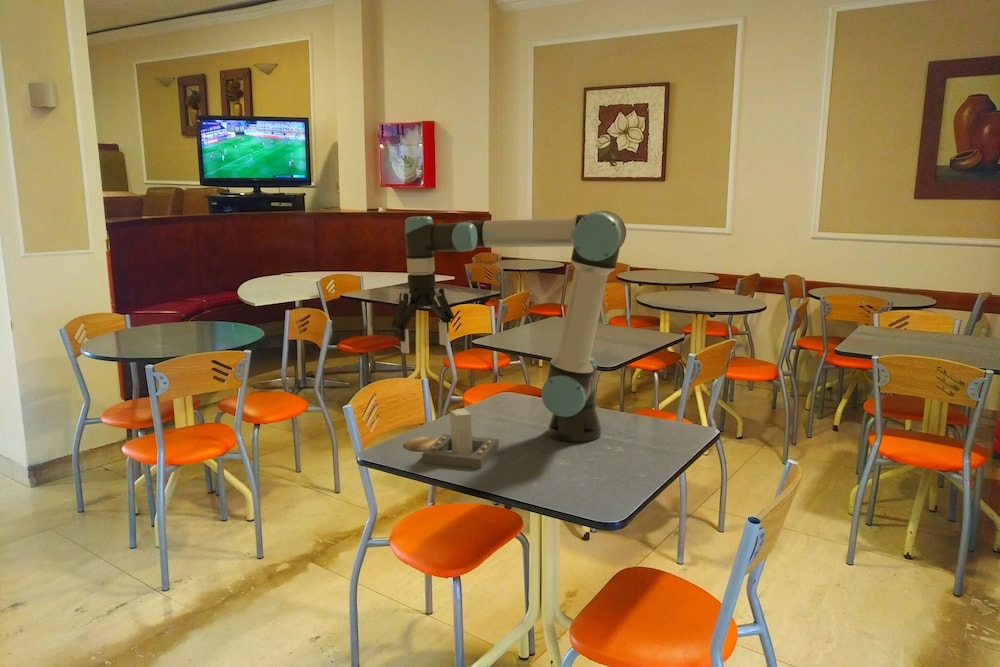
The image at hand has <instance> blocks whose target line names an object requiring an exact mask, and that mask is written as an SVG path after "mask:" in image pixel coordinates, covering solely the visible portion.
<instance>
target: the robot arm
mask: <svg viewBox="0 0 1000 667" xmlns="http://www.w3.org/2000/svg"><path fill="white" fill-rule="evenodd" d="M404 225H405V226H404V236H405V249H406V250H405V251H406V267H407V273H408V275H407V286H408V289H409V292H408V293H406V292H400V293H399V300H398V305H397V308H396V311H395V314H394V316H393V319H392V322H391V324H390V327H391V328H393V329H396V330H397V332H398V333H397V335H398V336H397V337H398V342H400V349H401V350H400V351H401V353H402V354H403V353H404V354H410V336H409V329H407V327H408V325H409V323H410V321H411V320H412V318H413V317H414V315H415V313H416V311H418V310H419V308H424V307H429V308H430V309H431V310H432V312H434V314H435V315H436V316H437V317H438V318H439V320H440V321H438V334H439V345H441V346H448V345H449V342H448V333H449V331H450V328H449V324H450V323H451V322H452V320H454V318H455V315H454V313H453V311H452V308H451V307H450V304H449V303H448V300H447V298H446V296H445V289H444V288H442V287H441V288H440V287H436V274H435V273H434V272H435V271H436V269H435V268H436V267H435V254H434V253H435V252H460V253H463V252H472V251H474V250H475V249H476V248H479V249H480V248H481V249H482V248H536V247H537V248H539V247H542V248H543V247H547V248H548V247H550V248H551V247H554V248H555V247H556V248H559V247H561V248H563V247H565V248H567V247H568V248H569V247H570V248H571V247H572V248H573V249H572V254H571V258H570V261H571V263H572V264H573V267H574V273H573V278H572V283H571V289H570V294H569V297H568V303H567V308H566V313H565V317H564V322H563V327H562V332H561V336H560V337H561V338H560V341H559V342H560V343H559V346H558V352H557V354H556V356H554V357H552V359H550V363H549V368H548V373H547V378H546V380H545V382H544V383H543V386H542V389H541V400H542V403H543V405H544V406H545V408H546V409H547V410H548V411H549V412H550V413H552V415H551V418H550V421H549V424H548V435H549V436H550V437H551V438H553V439H555V440H558V441H561V442H562V441H563V442H570V443H582V442H590V441H594V440H597V439H599V438H600V437H601V435H602V425H601V422H600V419H599V416H598V413H597V410H596V402H597V401H596V398H597V395H596V393H597V391H596V387H597V386H596V385H597V384H596V383H597V369H598V367H597V363H596V362H597V361H596V358H595V357H592V352H593V347H594V341H595V338H596V332H597V328H598V322H599V319H600V314H601V308H602V305H603V300H604V296H605V290H606V286H607V282H608V276H609V275H610V273H612V272H613V271H615V270H616V268H617V264H618V263H617V262H618V258H619V254H620V250H621V247H622V246H623V245H624V243H625V240H626V236H627V229H626V228H627V227H626V224H625V223H624V221H623V219H622V218H621V217H620V216H619V215H618V214H616V213H615V212H613V211H609V210H601V211H593V212H590V213H587V214H576V215H575V216H574V217H573V218H547V219H546V218H545V219H510V220H509V219H506V220H505V219H502V220H474V219H473V220H472V219H471V220H465V221H459V222H453V223H452V222H449V223H434V221H433V218H432V216H424V215H423V216H410V217H407V218H406V219H405V222H404ZM435 287H436V288H435ZM435 297H436V299H435Z"/></svg>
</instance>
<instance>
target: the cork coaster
mask: <svg viewBox="0 0 1000 667" xmlns="http://www.w3.org/2000/svg"><path fill="white" fill-rule="evenodd" d="M438 439H439V438H437V437H433V436H419V437H413V438H410V439H408V440H406V441H405V444H404V445H405V448H406V449H408V450H410V451H416V452H425V451H426V450H427V449H428V448H429V447H430V446H431V445H432V444H434V443H435V442H436V441H437V440H438Z"/></svg>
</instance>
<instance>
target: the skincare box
mask: <svg viewBox="0 0 1000 667" xmlns="http://www.w3.org/2000/svg"><path fill="white" fill-rule="evenodd" d="M449 418H450V419H449V420H450V435H451V439H452V447H451V452H455V453H466V454H474V453H473V449H472V437H473V436H472V434H473V433H472V414H471V413H470V412H469V411H467V410H466V409H465V408H456V409H450V411H449Z"/></svg>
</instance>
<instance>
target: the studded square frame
mask: <svg viewBox="0 0 1000 667" xmlns="http://www.w3.org/2000/svg"><path fill="white" fill-rule="evenodd" d="M499 440H500V439H499V438H492V437H491V438H489V437H481V436H472V450H476V451H475V452H474V453H473V454H466V453H455V452H452V451H448V450H449V449H450V448H452V439H451V434H443V435H441V436H440V437H439V438H438V440H437V441H436V442H435V443H434V444H432V445H431V446H430V447H429V448H428V449H427V450H426V451H423V452H422V463H423V464H430V465H431V464H432V465H440V466H442V465H443V466H451V467H463V468H471V469H482V468H483V467H484V466H485V464H486V463H487V462H488V461H489V460H490V459H491V457H493V455H494V454H495V453H496V452H497V450H499V448H500V445H499V444H500V442H499Z"/></svg>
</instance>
